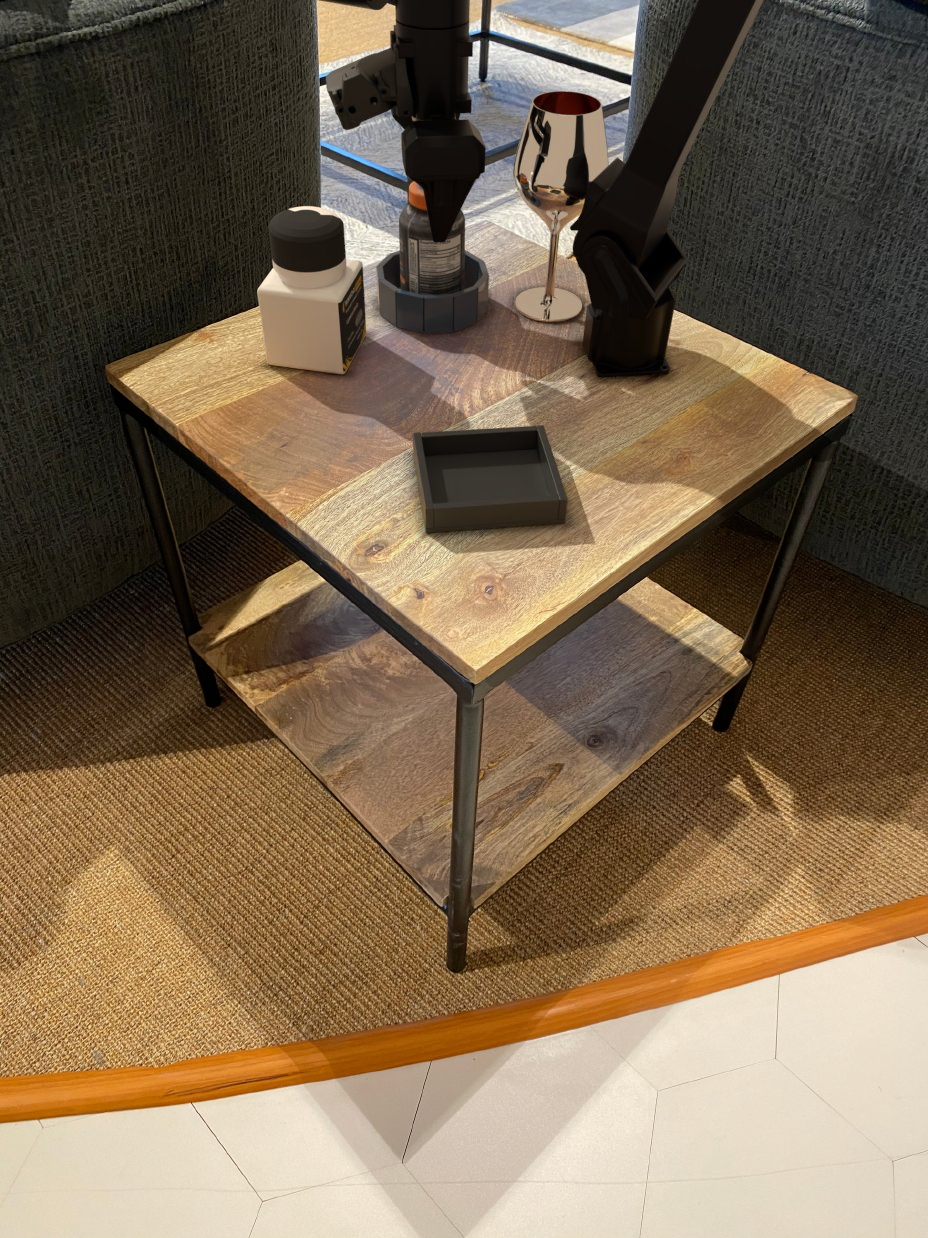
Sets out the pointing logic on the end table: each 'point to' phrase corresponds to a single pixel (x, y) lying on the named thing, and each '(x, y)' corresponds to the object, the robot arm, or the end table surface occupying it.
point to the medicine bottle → (311, 293)
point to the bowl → (432, 299)
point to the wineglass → (558, 182)
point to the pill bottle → (429, 251)
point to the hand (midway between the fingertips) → (433, 218)
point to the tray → (488, 479)
